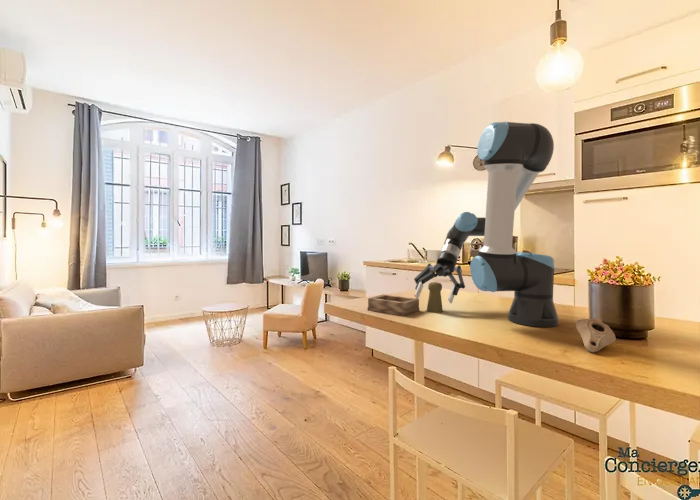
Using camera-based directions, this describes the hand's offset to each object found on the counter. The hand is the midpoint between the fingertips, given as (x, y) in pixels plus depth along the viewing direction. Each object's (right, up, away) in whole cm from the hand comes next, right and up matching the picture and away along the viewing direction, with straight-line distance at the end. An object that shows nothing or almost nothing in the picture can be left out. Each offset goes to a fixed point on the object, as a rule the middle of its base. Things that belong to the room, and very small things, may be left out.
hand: (432, 299), depth 133 cm
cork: (+1, -5, +2) cm, 5 cm away
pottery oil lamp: (+32, -7, -41) cm, 53 cm away
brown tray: (-14, -5, +2) cm, 15 cm away
